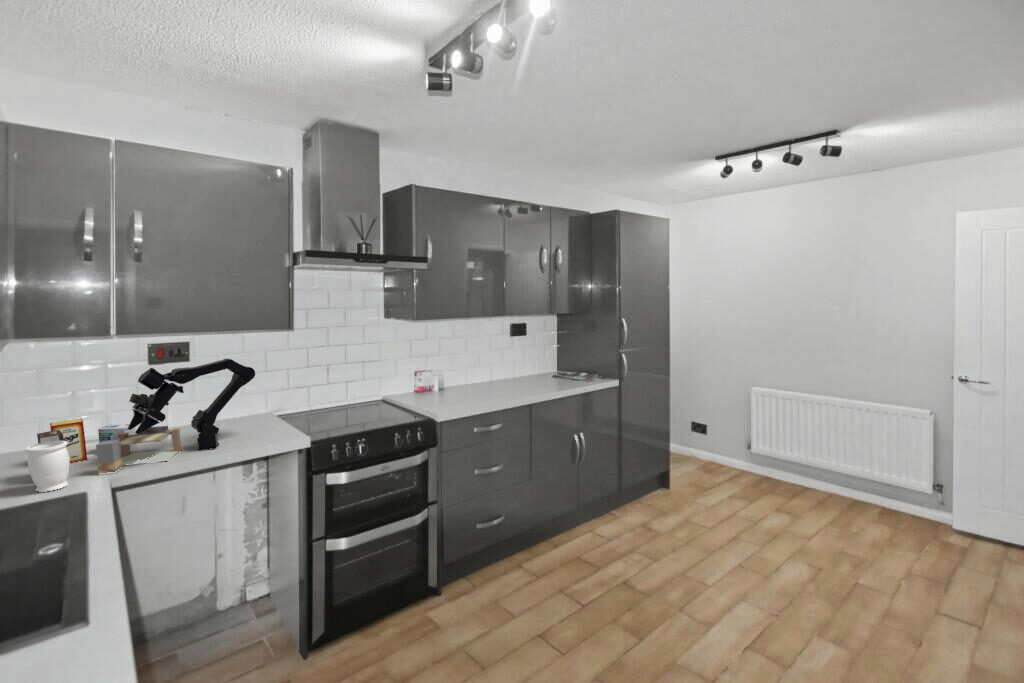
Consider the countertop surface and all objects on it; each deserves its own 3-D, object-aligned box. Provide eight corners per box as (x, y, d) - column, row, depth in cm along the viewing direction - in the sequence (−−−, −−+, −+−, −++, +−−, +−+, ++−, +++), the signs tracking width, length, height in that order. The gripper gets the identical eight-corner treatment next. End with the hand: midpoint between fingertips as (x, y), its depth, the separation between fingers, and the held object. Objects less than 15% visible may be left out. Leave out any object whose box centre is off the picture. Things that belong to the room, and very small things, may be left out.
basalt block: (120, 458, 193) (118, 439, 192) (114, 462, 188) (112, 443, 187) (104, 459, 192) (102, 441, 191) (98, 464, 187) (95, 445, 186)
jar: (73, 487, 175) (68, 444, 174) (32, 497, 168) (26, 452, 167) (70, 479, 183) (65, 438, 181) (31, 488, 176) (25, 445, 174)
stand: (182, 449, 214) (180, 427, 213) (169, 461, 200) (166, 437, 199) (126, 455, 209) (123, 432, 208) (108, 467, 195) (105, 443, 194)
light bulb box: (99, 454, 211) (96, 428, 209) (111, 449, 217) (109, 424, 216) (126, 453, 211) (124, 427, 210) (138, 448, 218) (135, 423, 216)
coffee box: (69, 477, 185) (63, 433, 183) (45, 483, 180) (39, 438, 179) (64, 471, 191) (59, 429, 189) (41, 476, 187) (35, 433, 185)
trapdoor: (174, 431, 214) (173, 425, 214) (160, 442, 200) (159, 434, 200) (134, 435, 211) (134, 428, 210) (118, 445, 197) (117, 438, 197)
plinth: (122, 468, 193) (121, 457, 193) (115, 473, 188) (114, 462, 188) (105, 470, 192) (104, 459, 192) (98, 475, 187) (97, 464, 186)
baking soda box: (86, 456, 209) (81, 417, 207) (87, 460, 204) (82, 420, 202) (54, 462, 202) (49, 422, 200) (55, 466, 197) (50, 425, 196)
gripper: (135, 382, 203) (104, 416, 196) (151, 387, 191) (119, 424, 184) (161, 397, 210) (132, 431, 203) (178, 403, 198) (148, 439, 191)
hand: (132, 431), depth 195 cm, fingers open, 9 cm apart
